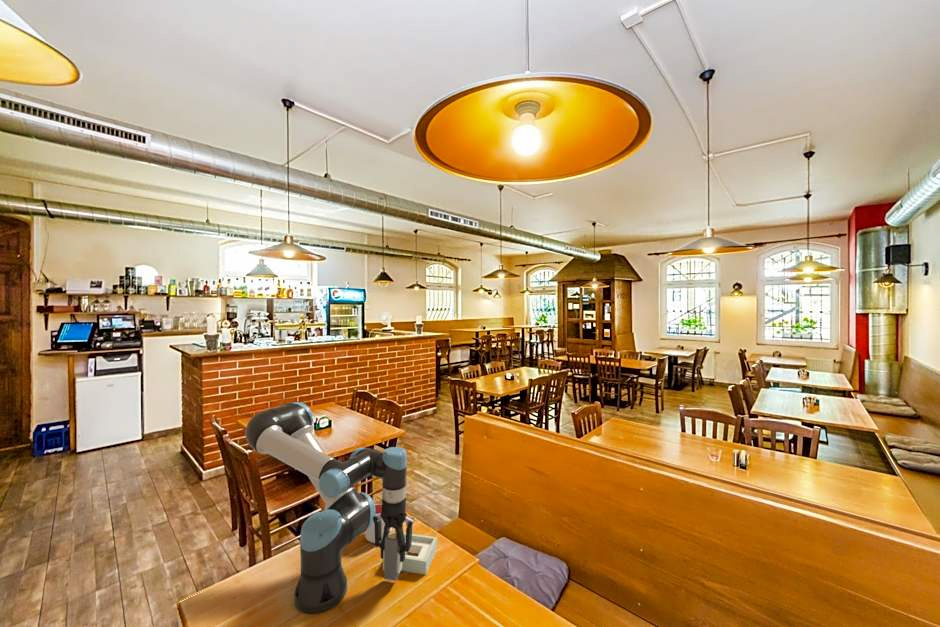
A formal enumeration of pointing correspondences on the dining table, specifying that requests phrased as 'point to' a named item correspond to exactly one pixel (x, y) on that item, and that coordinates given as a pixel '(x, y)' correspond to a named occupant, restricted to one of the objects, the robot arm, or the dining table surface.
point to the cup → (371, 530)
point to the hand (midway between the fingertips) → (392, 568)
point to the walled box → (420, 554)
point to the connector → (391, 556)
